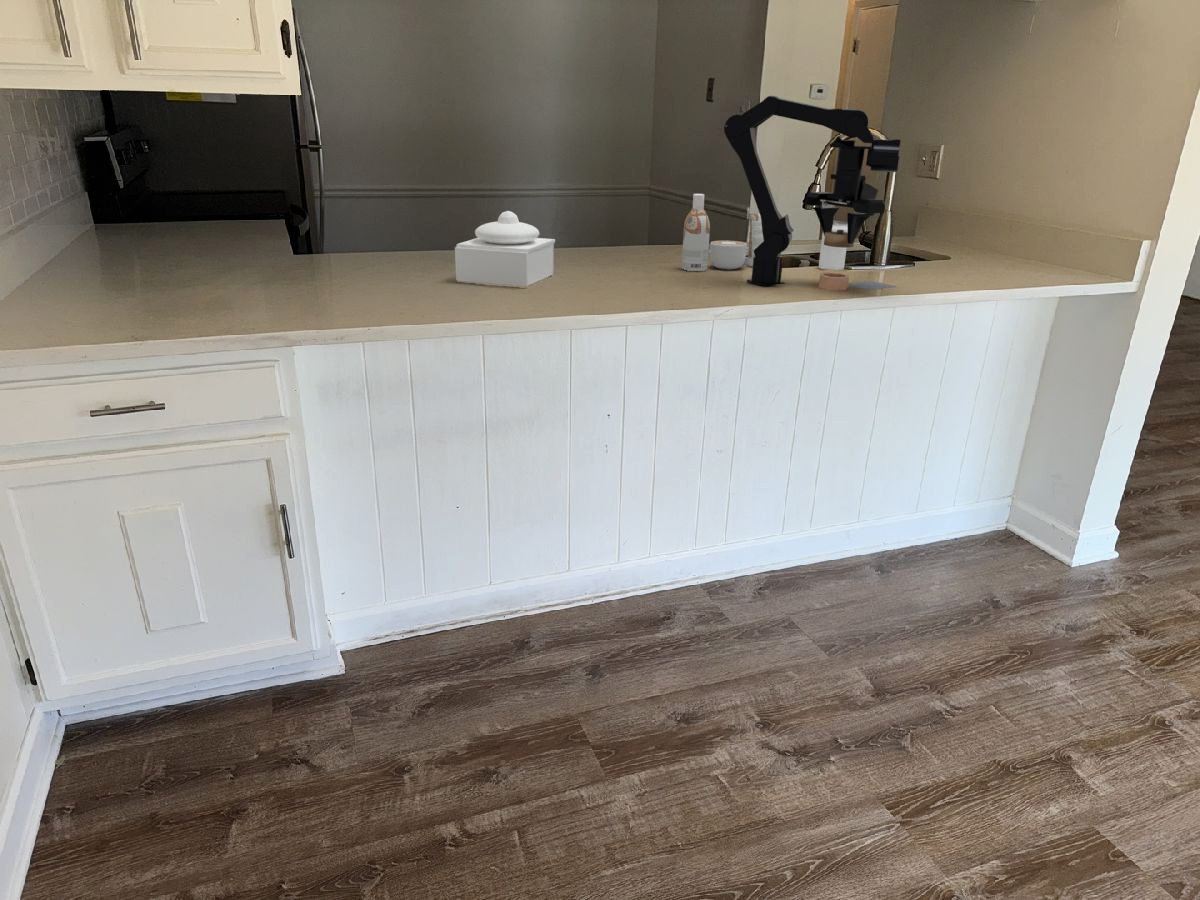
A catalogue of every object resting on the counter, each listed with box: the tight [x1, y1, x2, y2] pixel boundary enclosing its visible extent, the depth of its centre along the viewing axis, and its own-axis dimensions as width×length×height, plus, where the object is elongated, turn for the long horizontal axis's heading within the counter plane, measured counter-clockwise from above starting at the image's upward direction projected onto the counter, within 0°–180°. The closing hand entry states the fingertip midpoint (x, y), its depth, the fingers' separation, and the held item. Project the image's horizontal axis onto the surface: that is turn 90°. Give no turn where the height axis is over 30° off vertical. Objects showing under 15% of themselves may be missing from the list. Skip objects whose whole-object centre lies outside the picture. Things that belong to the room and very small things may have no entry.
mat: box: [848, 280, 898, 291], centre depth 201 cm, size 10×8×1 cm
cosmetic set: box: [681, 193, 764, 272], centre depth 218 cm, size 25×9×19 cm, turn 112°
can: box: [818, 220, 848, 271], centre depth 221 cm, size 6×6×12 cm
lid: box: [824, 230, 855, 249], centre depth 194 cm, size 7×7×3 cm
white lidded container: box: [454, 210, 556, 286], centre depth 198 cm, size 18×18×16 cm
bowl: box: [818, 272, 850, 292], centre depth 198 cm, size 6×6×3 cm
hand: (838, 241), depth 194 cm, fingers closed on lid, 7 cm apart
